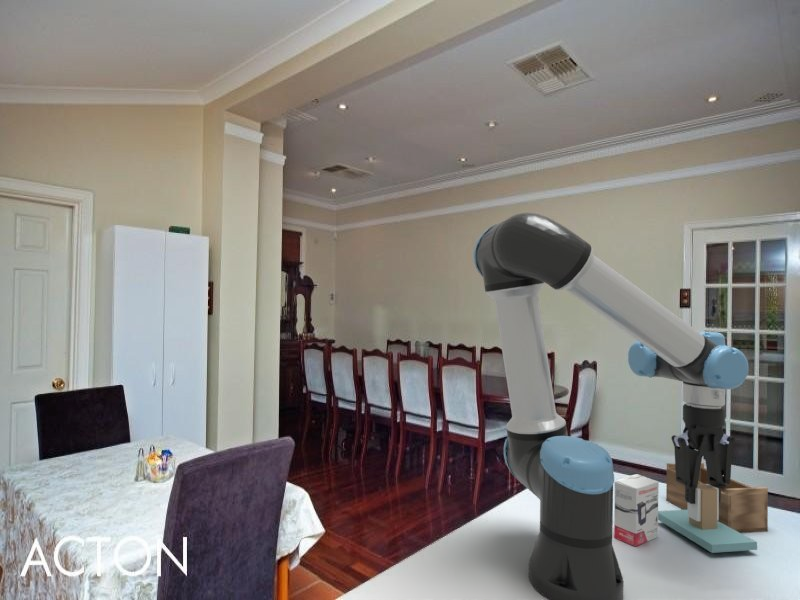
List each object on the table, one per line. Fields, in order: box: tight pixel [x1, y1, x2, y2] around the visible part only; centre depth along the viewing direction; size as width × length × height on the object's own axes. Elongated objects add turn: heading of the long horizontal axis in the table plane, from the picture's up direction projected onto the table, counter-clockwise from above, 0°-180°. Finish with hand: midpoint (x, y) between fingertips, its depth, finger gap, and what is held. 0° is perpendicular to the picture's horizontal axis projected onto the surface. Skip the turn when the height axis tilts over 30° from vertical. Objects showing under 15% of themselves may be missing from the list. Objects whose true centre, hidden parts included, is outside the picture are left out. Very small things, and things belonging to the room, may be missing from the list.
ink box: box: [613, 473, 660, 547], centre depth 99 cm, size 8×5×12 cm, turn 123°
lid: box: [658, 483, 758, 554], centre depth 99 cm, size 10×15×10 cm, turn 10°
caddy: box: [665, 461, 769, 534], centre depth 111 cm, size 10×18×9 cm, turn 10°
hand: (702, 517), depth 99 cm, fingers closed on lid, 3 cm apart
